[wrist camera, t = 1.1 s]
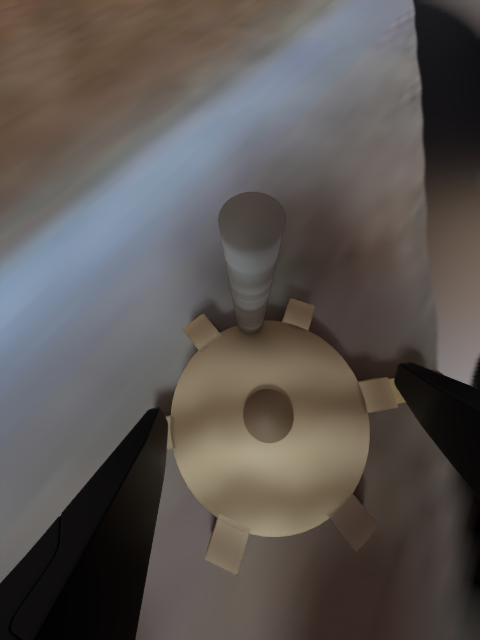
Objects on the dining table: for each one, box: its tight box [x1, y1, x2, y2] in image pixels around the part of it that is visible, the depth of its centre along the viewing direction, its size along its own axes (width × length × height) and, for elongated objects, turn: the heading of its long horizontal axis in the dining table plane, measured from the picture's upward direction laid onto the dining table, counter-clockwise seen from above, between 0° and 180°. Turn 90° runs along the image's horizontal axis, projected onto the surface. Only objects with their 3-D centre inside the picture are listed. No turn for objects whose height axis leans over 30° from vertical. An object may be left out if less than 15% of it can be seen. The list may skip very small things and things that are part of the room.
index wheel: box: [165, 192, 398, 575], centre depth 13 cm, size 19×21×15 cm
